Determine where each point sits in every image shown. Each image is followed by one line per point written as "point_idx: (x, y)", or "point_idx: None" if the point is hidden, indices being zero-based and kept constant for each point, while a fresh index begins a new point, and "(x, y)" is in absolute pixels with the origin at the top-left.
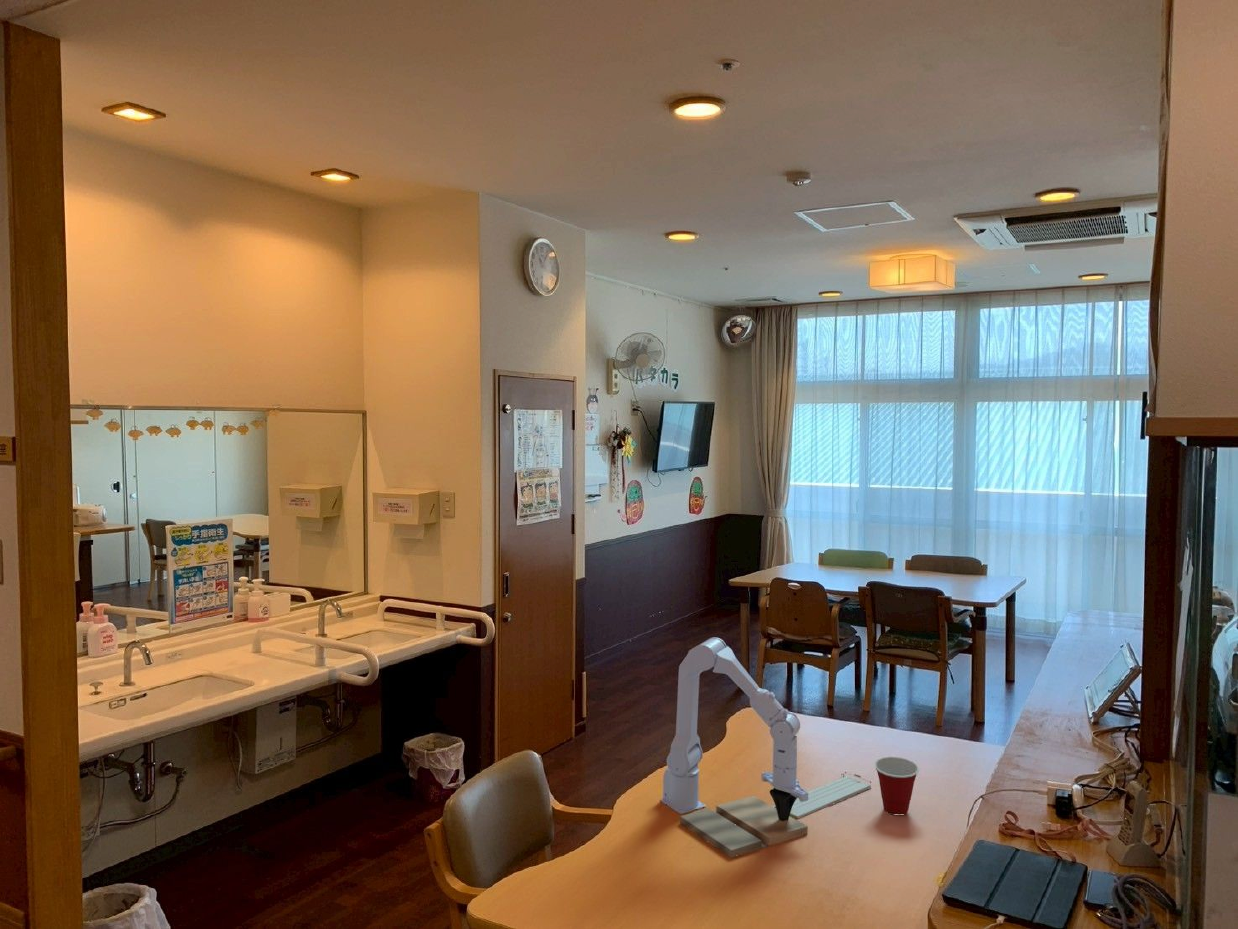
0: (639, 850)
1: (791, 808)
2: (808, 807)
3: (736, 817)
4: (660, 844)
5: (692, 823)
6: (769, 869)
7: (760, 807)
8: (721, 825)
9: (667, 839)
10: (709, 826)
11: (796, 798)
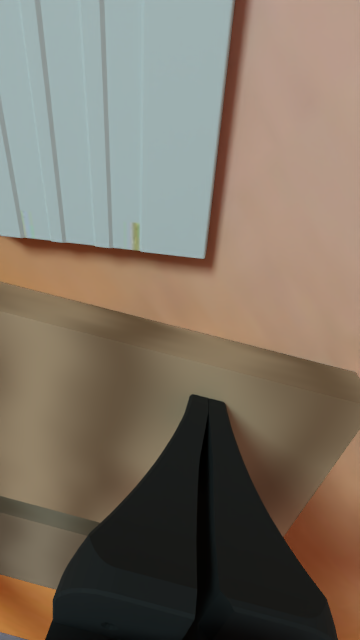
0: (41, 621)
1: (243, 465)
2: (168, 15)
3: (46, 507)
4: (40, 599)
5: (6, 574)
6: (339, 602)
7: (10, 377)
8: (66, 556)
9: (27, 583)
10: (50, 570)
11: (301, 571)
